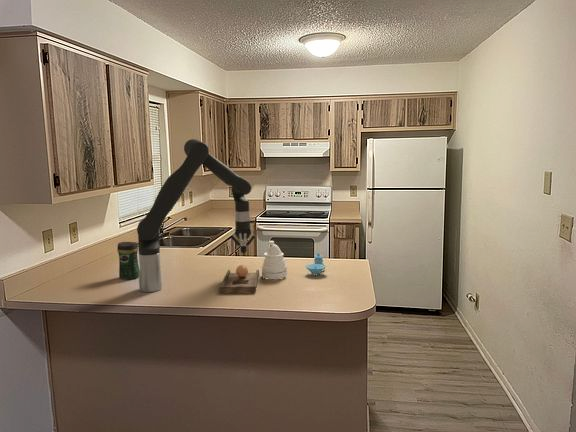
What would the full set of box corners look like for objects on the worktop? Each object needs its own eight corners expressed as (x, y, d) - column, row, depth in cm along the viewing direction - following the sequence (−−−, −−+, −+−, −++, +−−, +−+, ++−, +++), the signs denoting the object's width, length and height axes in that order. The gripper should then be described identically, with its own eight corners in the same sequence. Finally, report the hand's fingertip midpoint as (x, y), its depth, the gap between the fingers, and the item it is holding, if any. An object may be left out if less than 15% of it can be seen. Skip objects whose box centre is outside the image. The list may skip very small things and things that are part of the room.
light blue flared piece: (324, 278, 220) (324, 260, 218) (303, 277, 222) (303, 259, 221) (329, 268, 237) (329, 252, 236) (310, 267, 239) (310, 251, 238)
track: (220, 293, 197) (220, 286, 197) (228, 275, 225) (227, 270, 225) (255, 292, 198) (255, 286, 197) (259, 275, 225) (259, 269, 225)
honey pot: (256, 276, 223) (256, 242, 220) (274, 271, 232) (274, 238, 230) (274, 281, 214) (274, 245, 212) (292, 276, 224) (292, 241, 221)
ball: (235, 279, 214) (235, 267, 213) (236, 275, 220) (236, 263, 219) (247, 278, 214) (247, 266, 213) (248, 275, 220) (248, 263, 219)
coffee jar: (142, 275, 227) (140, 240, 224) (134, 280, 219) (131, 243, 216) (125, 274, 229) (123, 240, 226) (116, 279, 221) (114, 243, 218)
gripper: (228, 221, 219) (230, 255, 222) (255, 220, 219) (256, 254, 222) (230, 218, 227) (231, 251, 229) (256, 218, 227) (257, 251, 229)
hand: (243, 253), depth 225 cm, fingers closed
